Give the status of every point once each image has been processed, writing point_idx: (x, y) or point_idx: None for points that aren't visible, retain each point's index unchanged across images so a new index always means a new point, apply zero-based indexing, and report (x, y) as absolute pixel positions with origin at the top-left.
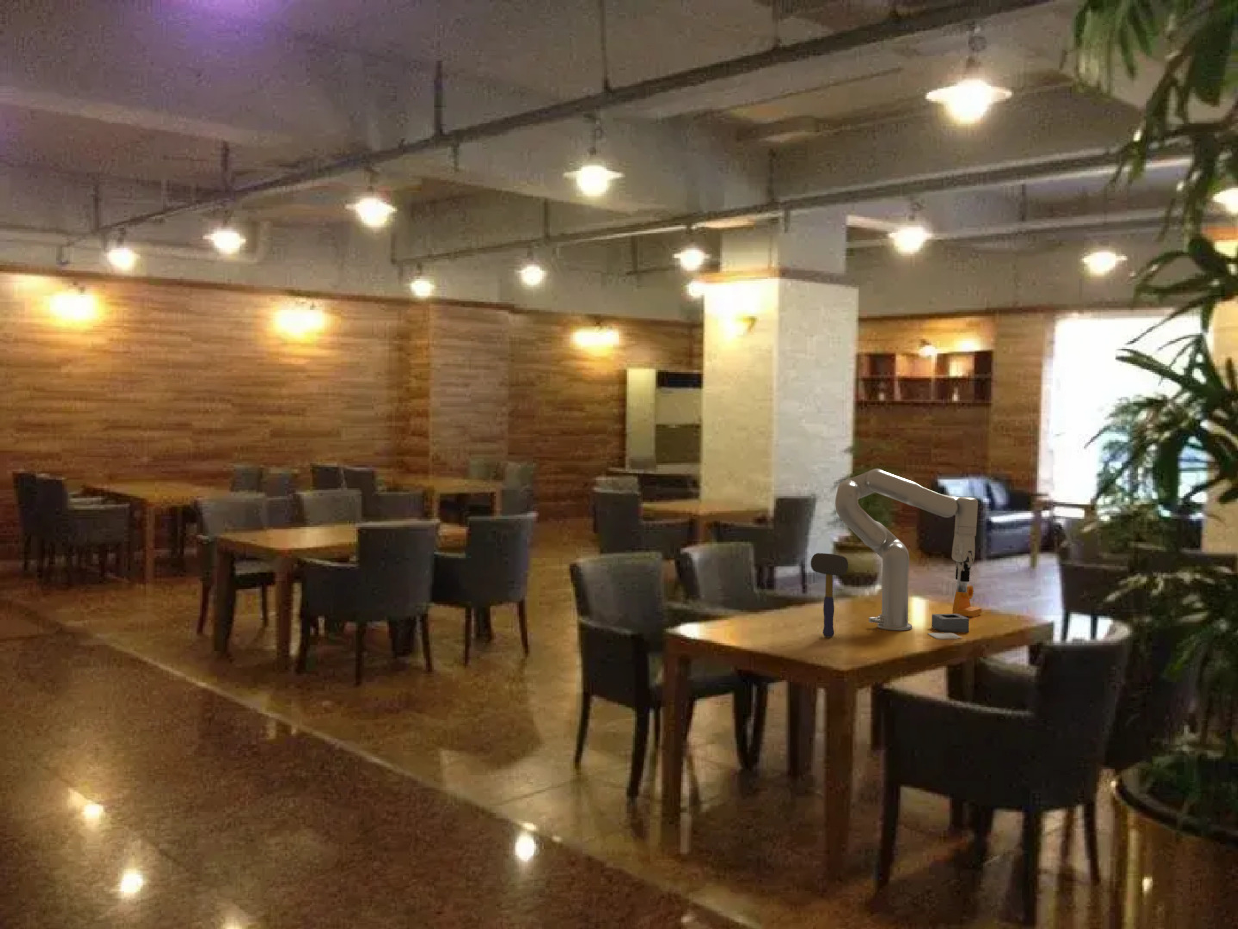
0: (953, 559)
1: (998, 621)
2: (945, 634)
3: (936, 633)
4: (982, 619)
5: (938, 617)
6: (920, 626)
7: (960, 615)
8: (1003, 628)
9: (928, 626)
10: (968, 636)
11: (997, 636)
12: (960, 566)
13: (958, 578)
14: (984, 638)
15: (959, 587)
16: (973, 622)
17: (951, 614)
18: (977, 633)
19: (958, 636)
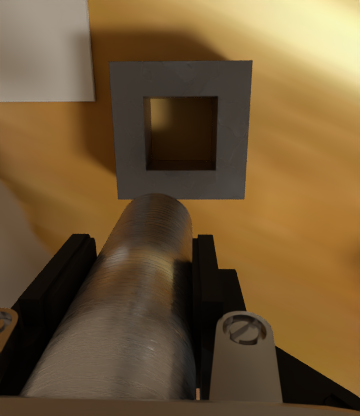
0: (290, 405)
1: (306, 359)
2: (51, 53)
3: (73, 19)
4: (354, 327)
5: (164, 61)
6: (275, 24)
7: (197, 193)
8: None
9: (268, 65)
10: (49, 150)
11: (51, 252)
12: (56, 349)
13: (127, 238)
14: (13, 194)
15: (127, 212)
16: (309, 277)
17: (227, 161)
18: (106, 207)
19: (11, 95)
